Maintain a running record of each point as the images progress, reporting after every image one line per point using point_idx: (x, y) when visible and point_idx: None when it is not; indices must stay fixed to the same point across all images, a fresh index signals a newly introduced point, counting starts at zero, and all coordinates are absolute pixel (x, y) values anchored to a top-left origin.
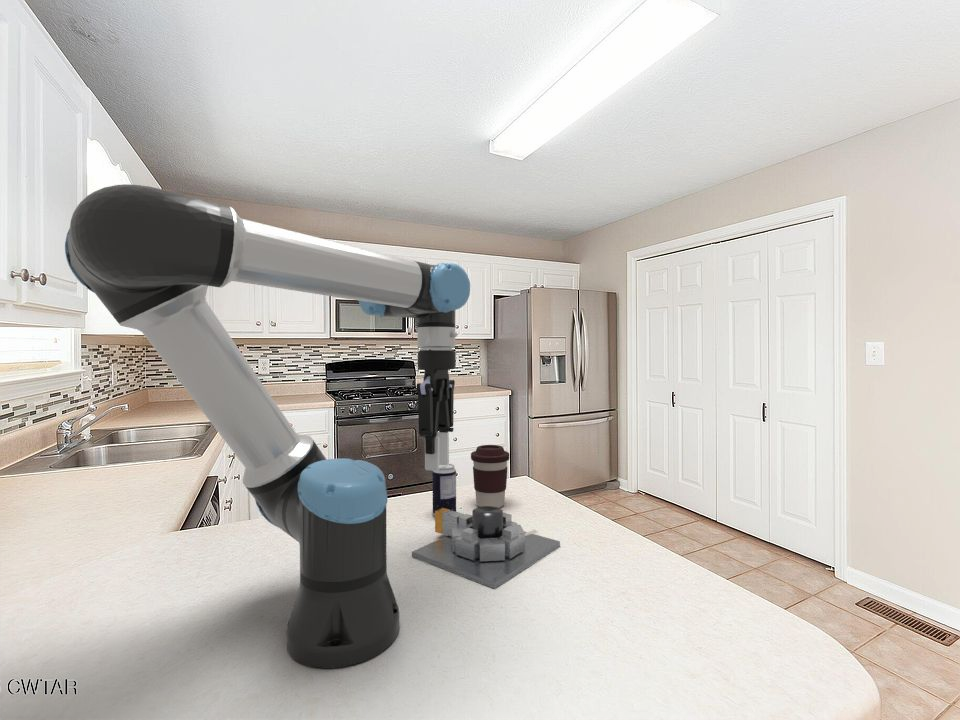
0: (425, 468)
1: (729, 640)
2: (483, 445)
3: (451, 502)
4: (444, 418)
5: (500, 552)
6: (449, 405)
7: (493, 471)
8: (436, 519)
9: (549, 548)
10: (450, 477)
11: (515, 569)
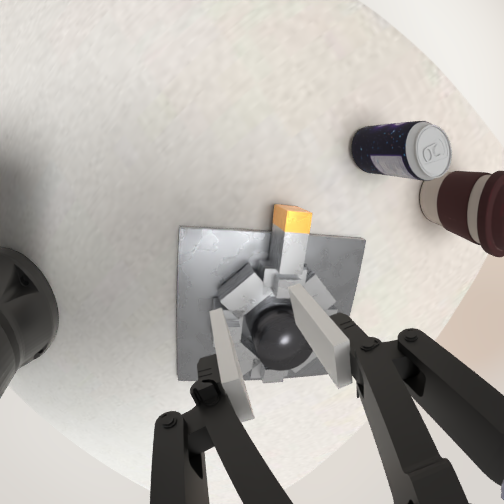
0: (210, 315)
1: (228, 490)
2: None
3: (378, 173)
4: (370, 419)
5: None
6: (450, 430)
7: (468, 233)
8: (281, 211)
9: (307, 375)
10: (411, 176)
11: None
